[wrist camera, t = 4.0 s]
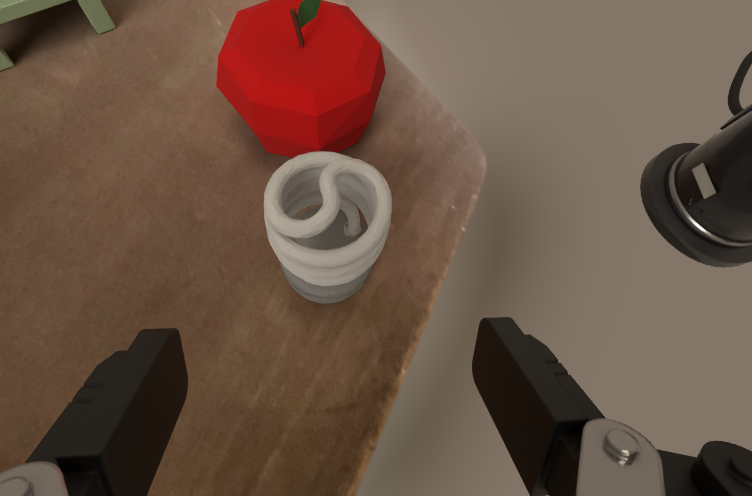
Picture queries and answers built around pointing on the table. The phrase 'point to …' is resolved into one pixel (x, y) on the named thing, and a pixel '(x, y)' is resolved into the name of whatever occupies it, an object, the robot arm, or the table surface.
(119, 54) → the table surface
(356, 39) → the apple
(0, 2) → the green side table
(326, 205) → the light bulb
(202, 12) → the table surface
